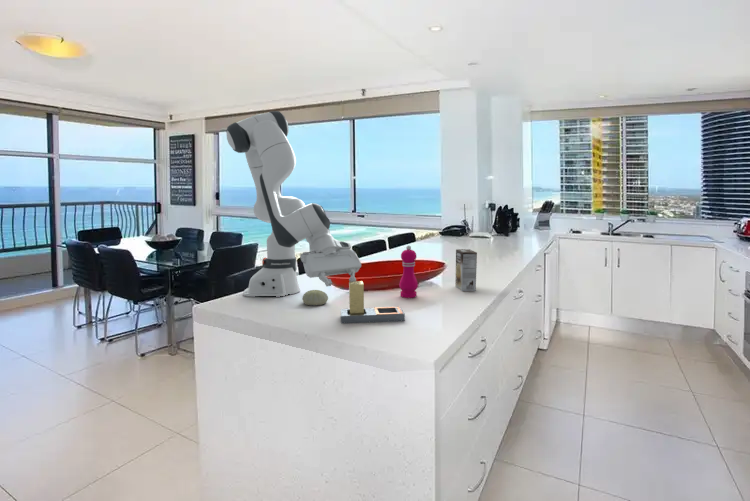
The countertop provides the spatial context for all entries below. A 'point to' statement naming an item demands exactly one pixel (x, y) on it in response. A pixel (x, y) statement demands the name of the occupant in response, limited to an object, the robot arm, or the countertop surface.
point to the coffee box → (466, 269)
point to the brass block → (356, 298)
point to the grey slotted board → (374, 315)
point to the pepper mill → (408, 274)
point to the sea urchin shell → (315, 297)
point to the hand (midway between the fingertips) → (341, 283)
